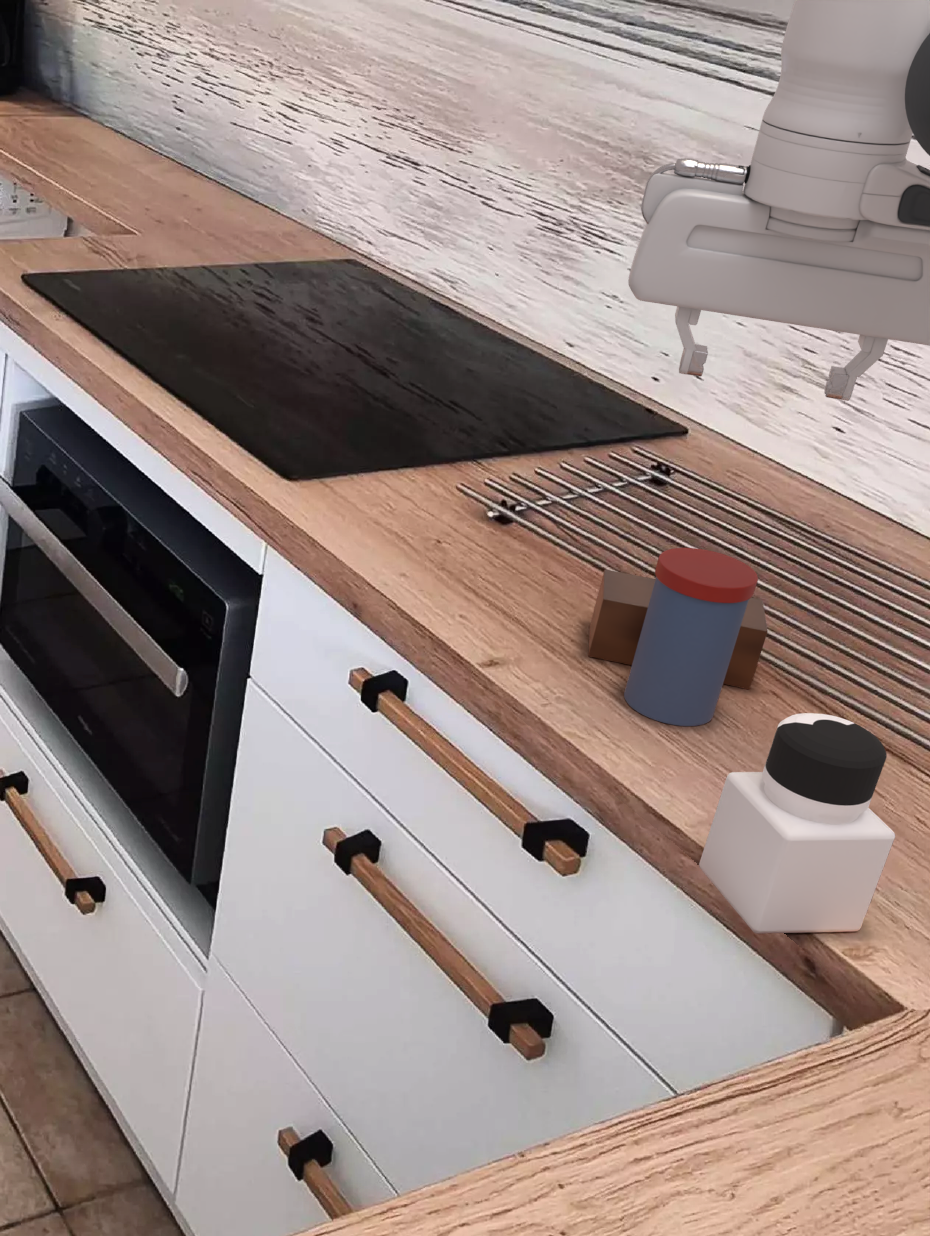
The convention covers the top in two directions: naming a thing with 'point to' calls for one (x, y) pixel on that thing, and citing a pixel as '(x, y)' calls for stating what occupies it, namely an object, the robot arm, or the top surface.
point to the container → (688, 635)
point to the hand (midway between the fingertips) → (762, 385)
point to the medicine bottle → (802, 830)
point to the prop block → (625, 615)
